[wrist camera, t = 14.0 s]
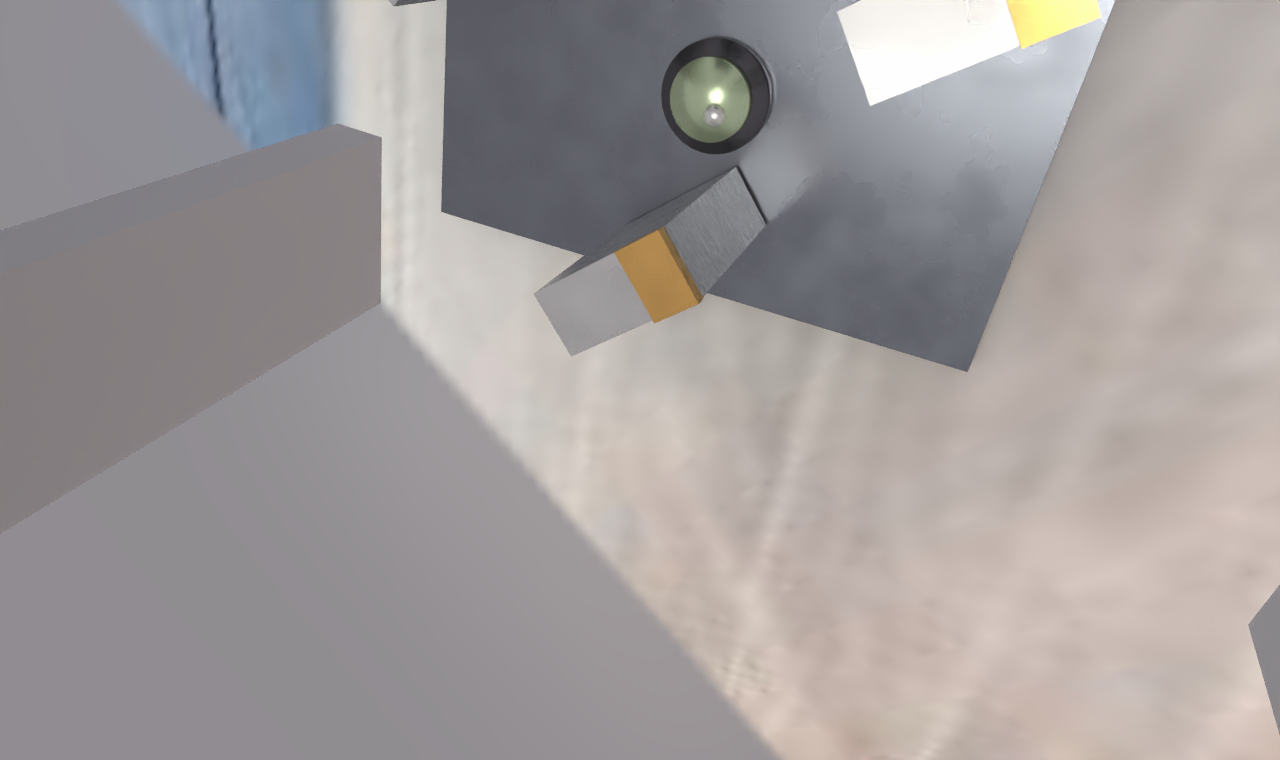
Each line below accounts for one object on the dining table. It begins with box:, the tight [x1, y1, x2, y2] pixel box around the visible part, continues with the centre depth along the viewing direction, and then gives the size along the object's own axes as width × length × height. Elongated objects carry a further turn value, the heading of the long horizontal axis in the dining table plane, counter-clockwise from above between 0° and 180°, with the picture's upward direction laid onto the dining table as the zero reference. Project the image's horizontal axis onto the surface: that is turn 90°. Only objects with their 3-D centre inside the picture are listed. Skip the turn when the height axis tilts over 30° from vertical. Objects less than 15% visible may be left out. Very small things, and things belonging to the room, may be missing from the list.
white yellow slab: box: [837, 0, 1101, 106], centre depth 31 cm, size 3×7×10 cm, turn 115°
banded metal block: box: [534, 167, 766, 356], centre depth 40 cm, size 3×7×10 cm, turn 121°
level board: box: [441, 0, 1115, 372], centre depth 41 cm, size 20×30×3 cm, turn 80°
